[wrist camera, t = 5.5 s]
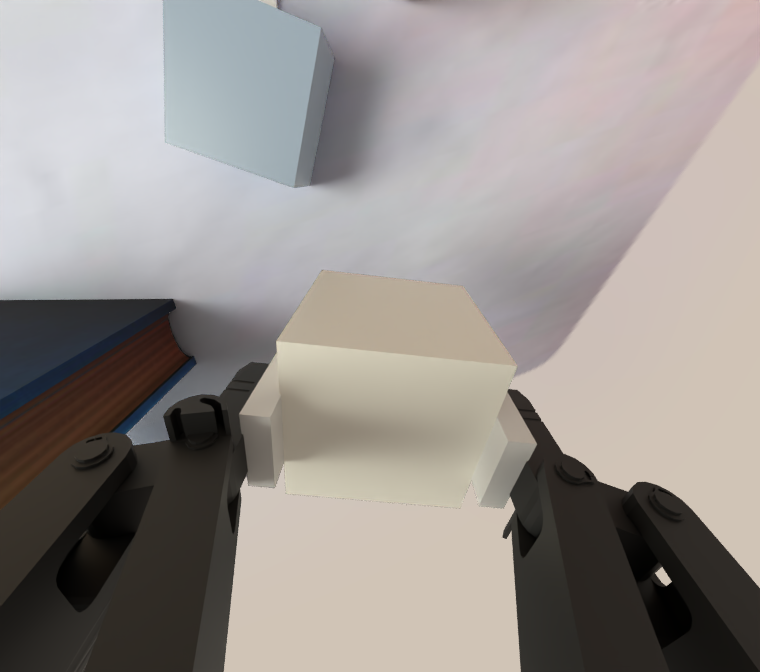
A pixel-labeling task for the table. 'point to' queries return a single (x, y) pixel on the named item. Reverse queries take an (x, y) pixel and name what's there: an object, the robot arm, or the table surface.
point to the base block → (245, 86)
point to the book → (78, 376)
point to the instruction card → (270, 3)
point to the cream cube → (388, 390)
